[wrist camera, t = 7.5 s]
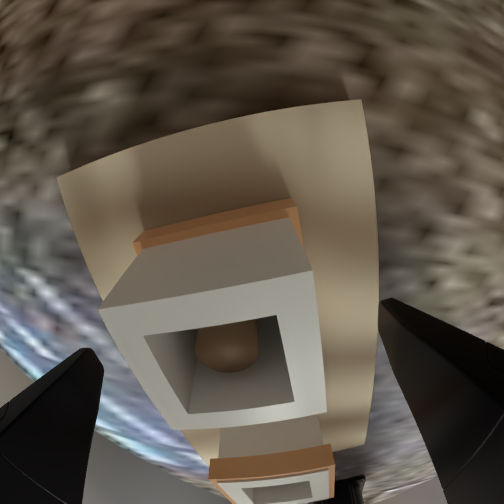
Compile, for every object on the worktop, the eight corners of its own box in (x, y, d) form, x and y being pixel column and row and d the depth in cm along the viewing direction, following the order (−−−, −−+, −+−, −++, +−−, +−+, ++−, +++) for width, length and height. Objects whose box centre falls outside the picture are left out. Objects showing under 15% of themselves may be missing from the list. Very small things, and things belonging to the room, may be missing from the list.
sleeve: (291, 197, 10) (325, 253, 6) (310, 322, 13) (336, 414, 8) (143, 230, 11) (83, 300, 6) (188, 344, 13) (167, 434, 8)
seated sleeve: (322, 435, 16) (334, 498, 12) (239, 447, 17) (238, 510, 12) (317, 386, 14) (335, 466, 10) (215, 402, 15) (208, 480, 10)
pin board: (361, 432, 19) (376, 486, 14) (210, 455, 19) (206, 509, 15) (350, 102, 10) (419, 88, 5) (71, 172, 11) (-10, 204, 6)
